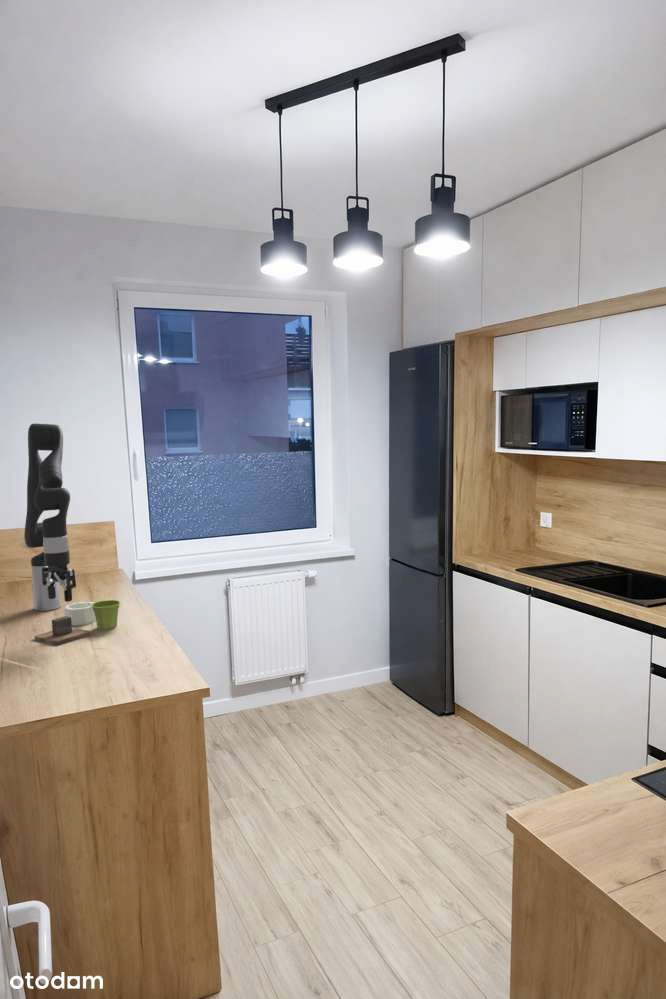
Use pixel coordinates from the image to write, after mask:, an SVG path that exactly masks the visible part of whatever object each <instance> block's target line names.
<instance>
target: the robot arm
mask: <svg viewBox="0 0 666 999" xmlns="http://www.w3.org/2000/svg"><path fill="white" fill-rule="evenodd" d="M27 432H28V434H27V450H28V470H27V472H28V473H27V481H26V483H27V484H26V516H25V522H24V523H25V525H24V543H25V545H26V546H27V548H30V549H32V548H33V549H34V548H36V549H37V548H43V549H42V550H43V551H42V552H41V553H39V554H36V555H35V556H33V557H31V560H30V566H31V576H32V577H31V578H32V585H31V589H32V602H33V609H34V610H35V611H37V612H48V611H54V610H57V609H60V608H61V607H62V603H61V588H60V586H62V588H63V596H64V597H63V598H64V602H66V603H68V602H72V600H73V593H72V592H73V591H72V590H73V589H74V588H76V587H77V581H76V572H75V569H74V568H70V569H68V565H69V564H70V563H71V557H70V547H69V545H70V544H69V539H68V530H67V516H68V510H69V507H70V502H71V494H70V492H69V490H68V489H67V488H66V487H62V486H63V484H64V483H63V482H64V481H63V474H62V473H63V472H62V462H63V461H62V460H63V453H64V451H63V450H64V434H63V428H62V427H61V426H60V425H58V424H50V423H32V424H30V425H29V427H28V431H27ZM39 451H46V452H47V451H51V452H50V453H49V454H48V455H47V456H46V457H45V458H44V459H43V460H42V457H41V454H40V453H39ZM46 511H47V512H48V511H58V512H57V514H56V515H54V516H51V517H48V518H44V519H43V521H42V522H38V521H39V519H40V517H41V515H42V514H43V513H44V512H46Z"/></svg>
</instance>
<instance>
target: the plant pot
mask: <svg viewBox="0 0 666 999" xmlns="http://www.w3.org/2000/svg"><path fill="white" fill-rule="evenodd" d="M120 605H121V601H120V600H115V599H108V600H107V599H106V600H100V601H95V602H94V603H93V604H92V605H91V607H92V608H93V611H94V613H95V618H96V621H95V622H96V626H97V629H98V630H101V631H106V630H112V629H115V628H117V627H118V617H119V616H118V614H119V608H120Z"/></svg>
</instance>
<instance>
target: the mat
mask: <svg viewBox="0 0 666 999" xmlns="http://www.w3.org/2000/svg"><path fill="white" fill-rule="evenodd" d="M94 635H95V633H91V632H90V635H88V636H85V637H82V638H79V639H76V640H72V641H69V642H66V643H63V644H60V645H54V644H50V643H46V642H42V641H38V640H35V638H32V639H30V641H31V642H35V643H38V644H39V643H40V644H43V645H48V646H52V647H55V648H56V647H61V646H63V645H66V644H71V643H74V642H76V641H79V640H81V639H85V638H88V637H91V636H94Z"/></svg>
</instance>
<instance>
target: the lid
mask: <svg viewBox="0 0 666 999" xmlns="http://www.w3.org/2000/svg"><path fill="white" fill-rule="evenodd" d="M90 633H91V631H90V630H88V629H87V630H86V629H82V628H77V627H73V625H72V623H71V617H68V616H65V615H64V616H60V617H58V618H53V619H51V630H50V631H47V632H43V633H40V634H37V635H34V639H35V640H38V641H42V642H46V643H50V644H54V645H60V644H63V643H66V642H69V641H72V640H76V639H79V638H82V637H85V636H88V635H90ZM79 640H80V639H79ZM76 641H77V640H76Z"/></svg>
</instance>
